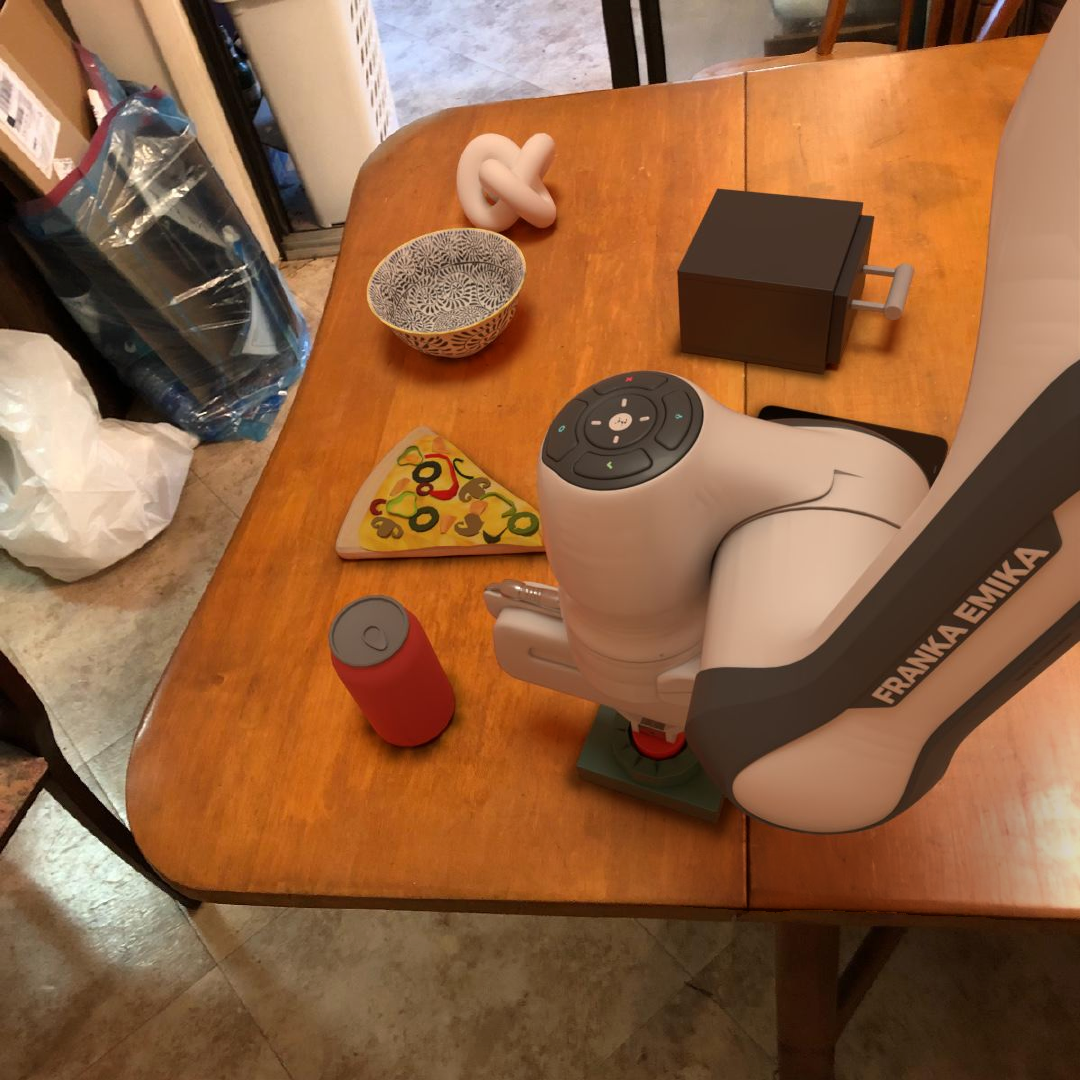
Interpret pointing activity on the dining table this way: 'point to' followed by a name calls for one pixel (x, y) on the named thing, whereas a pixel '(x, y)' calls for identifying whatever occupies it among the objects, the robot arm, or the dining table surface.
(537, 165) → the white knot sculpture
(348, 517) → the pizza slice
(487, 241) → the bowl
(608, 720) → the control block
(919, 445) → the smartphone
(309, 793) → the dining table surface
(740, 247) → the drawer cabinet
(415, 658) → the beer can
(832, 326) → the pull-out drawer
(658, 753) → the button
